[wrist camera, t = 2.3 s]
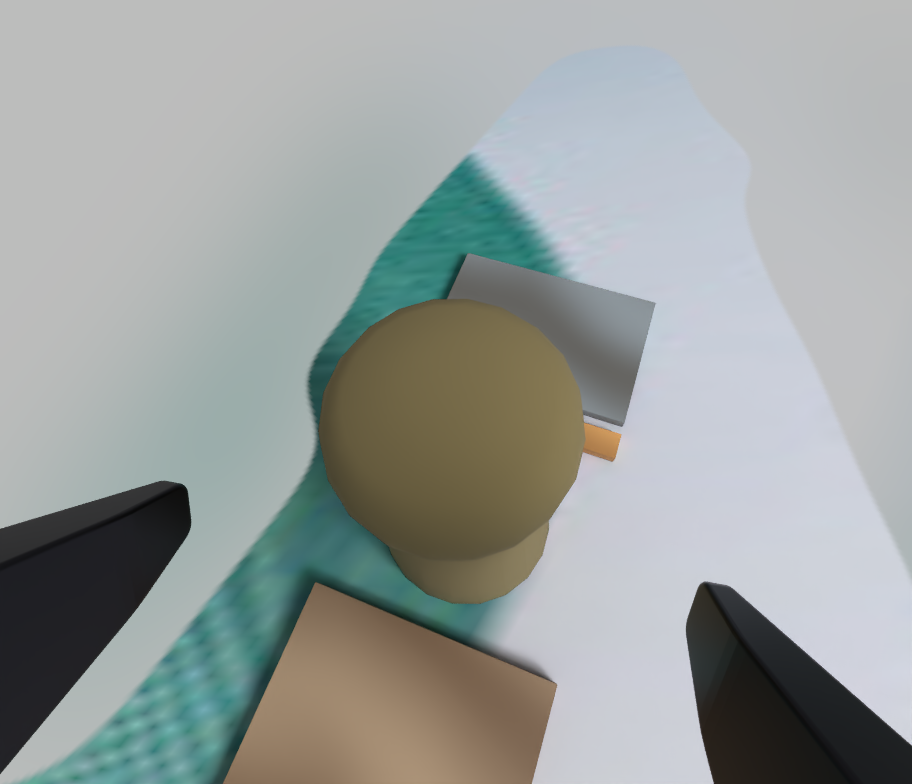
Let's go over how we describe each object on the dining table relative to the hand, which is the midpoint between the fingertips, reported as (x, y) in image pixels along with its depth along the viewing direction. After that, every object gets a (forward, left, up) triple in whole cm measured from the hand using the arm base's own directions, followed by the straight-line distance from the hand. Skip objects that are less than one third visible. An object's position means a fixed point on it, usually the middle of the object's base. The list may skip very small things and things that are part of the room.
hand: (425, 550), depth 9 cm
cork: (+2, 0, -10) cm, 10 cm away
